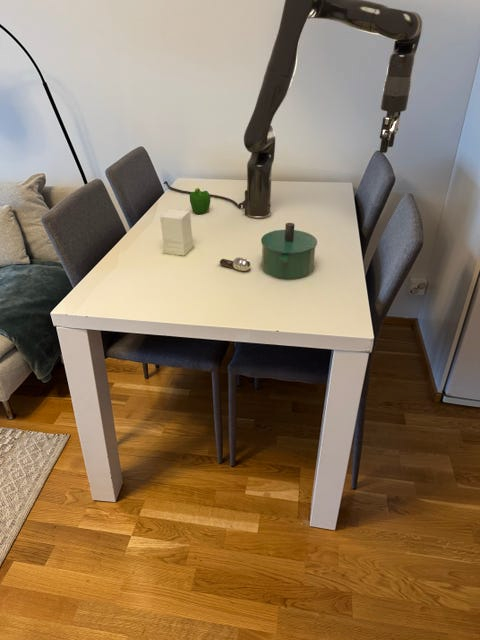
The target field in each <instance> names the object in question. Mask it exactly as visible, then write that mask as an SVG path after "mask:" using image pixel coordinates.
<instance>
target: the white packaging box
mask: <svg viewBox="0 0 480 640" xmlns="http://www.w3.org/2000/svg"><path fill="white" fill-rule="evenodd" d="M159 219H160V223H161V235H162V242H163V250H164V254H170V255H177V256H186V255H187V253H189V252H190V251H191V250H192V249H193V247H194V246H193V245H194V244H193V232H192V219H191V211H189V210H180V209H172V208H171V209H168V210H167V211H166V212H164V214H162V215H161V216H160V217H159Z"/></svg>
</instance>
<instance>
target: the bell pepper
mask: <svg viewBox="0 0 480 640" xmlns="http://www.w3.org/2000/svg"><path fill="white" fill-rule="evenodd" d="M190 192H191V193H190V194H189V203H190V206H191V209H192V212H194V214H197V215H201V214H204V213H208V212H209V209H210V206H211V196H210V194H211V193H209V192H208V190H203V191H202V190H201V189H200V188H199V187H197V188H195V189H194V191H190Z"/></svg>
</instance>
